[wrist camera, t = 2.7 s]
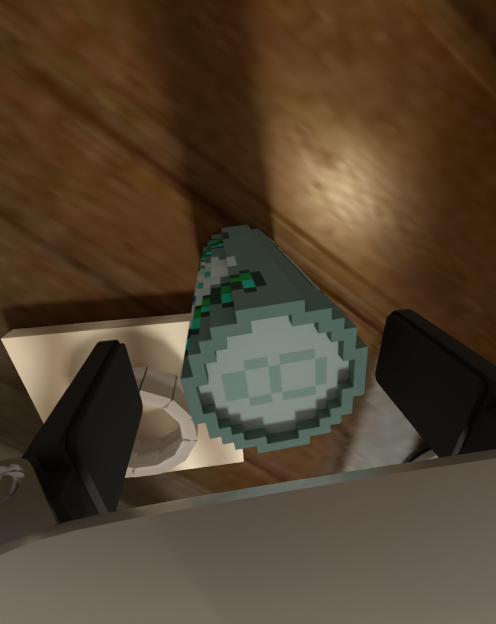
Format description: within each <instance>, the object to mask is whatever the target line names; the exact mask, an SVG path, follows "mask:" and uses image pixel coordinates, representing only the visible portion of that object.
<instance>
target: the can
mask: <svg viewBox="0 0 496 624" xmlns="http://www.w3.org/2000/svg"><path fill="white" fill-rule="evenodd" d="M221 230H222V234H215V235H212V240H211V241H207V246H206V247H203V253H202V258H200V262H199V268H198V274H197V280H196V287H195V293H194V299H193V305H192V311H191V317H190V323H189V329H188V335H187V342H186V348H185V354H184V360H183V366H182V372H181V378H180V379H181V383H182V386H183V390H184V393H185V396H186V400H187V403H188V407H189V410H190V414H191V417H192V420H193V424H194V425H197V424H202V423H206V427H207V430H208V434H209V438H210V439H213V438H218V437H221V439H222V443H223V445H224V444H229V443H234V446H235V450H238V449H244V448H249V447H254V446H257V451H258V453H262V452H267V451H273V450H278V449H283V448H289V447H294V446H300V445H305V444H310V437H309V436H314V435H319V434H325V433H330V425H332V424H338V423H341V415H344V414H350V413H352V403H353V396H358V395H364V387H365V375H366V363H367V350H368V347H367V346H366V344H365V343H364V342H363V341H362V340H361V339H360V338H359V337H358V336H357V327H356V326H355V325H354V324H353V323H352V322H351V321H350V320H349V319H348V318H347V317H346V316H345V315H344V313H343V312H342V311H341V310H340V309H339V308H338V307H337V306H336V305H335V304H334V303H333V302H332V301H331V300H330V299H329V298H328V297H327V296H326V295H325V294H324V293H323V292H322V291H321V290H320V289H319V288H318V287H317V286H316V285H315V284H314V283H313V282H312V281H311V280H310V279H309V278H308V276H307V275H306V274H305V273H304V272H303V271H302V270H301V269H300V268H299V267H298V266H297V265H296V264H295V263H294V262H293V261H292V260H291V259H290V258H289V257H288V256H287V255H286V254H285V253H284V252H283V251H282V250H281V249H280V248H279V247H278V246H277V245H276V244H275V243H274V242H273V241H272V240H271V238H270V237H267V236H266V235H265V234H264V233H262V232H261V231H260V230H259V229H258V228H256V229H250V227H249V226H248V225H247V224H246V225H239V226H233V227H226V228H221Z"/></svg>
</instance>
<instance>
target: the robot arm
mask: <svg viewBox="0 0 496 624" xmlns="http://www.w3.org/2000/svg"><path fill="white" fill-rule="evenodd" d="M375 377H376V380H377V382H378V384H379V385H380V386H381V387H382V389H383V390H384V391H385V392H386V394H387V395H388V396H389V397H390V398H391V400H392V401H393V402H394V403H395V405H396V406H397V407H398V408H399V410H400V411H401V412H402V413H403V414H404V416H405V417H406V418H407V419H408V421H409V422H410V423H411V424H412V426H413V427H414V428H415V429H416V430H417V432H418V433H419V434H420V435H421V437H422V438H423V439H424V440H425V442H426V443H427V444H428V445H429V446H430V448H431V449H432V450H429V451H427V452H426V453H424V454H422V455H420V456H419V457H417V458H416V459H414V460H413V461H412V462H409V463H402V464H396V465H389V466H383V467H377V468H370V469H364V470H358V471H352V472H345V473H339V474H333V475H326V476H320V477H314V478H308V479H301V480H295V481H289V482H283V483H277V484H271V485H264V486H258V487H252V488H246V489H240V490H234V491H228V492H222V493H216V494H210V495H204V496H198V497H192V498H186V499H180V500H174V501H168V502H163V503H158V504H152V505H147V506H141V507H136V508H130V509H125V510H119V511H116V508H117V505H118V501H119V497H120V494H121V490H122V486H123V483H124V479H125V475H126V472H127V468H128V464H129V460H130V457H131V453H132V449H133V446H134V442H135V438H136V435H137V431H138V427H139V424H140V420H141V416H142V412H143V404H142V400H141V396H140V393H139V389H138V386H137V382H136V379H135V376H134V372H133V369H132V365H131V362H130V358H129V355H128V352H127V348H126V345H125V344H124V343H120V342H119V341H118V340H107V341H99V342H98V343H97V344H96V345H95V347H94V348H93V350H92V351H91V353H90V354H89V356H88V358H87V359H86V361H85V362H84V364H83V365H82V367H81V368H80V370H79V371H78V373H77V374H76V376H75V377H74V379H73V381H72V382H71V384H70V385H69V387H68V388H67V389H66V391H65V392H64V394H63V395H62V397H61V398H60V400H59V401H58V403H57V404H56V406H55V408H54V409H53V411H52V412H51V414H50V415H49V417H48V418H47V420H46V421H45V423H44V424H43V426H42V427H41V429H40V431H39V432H38V434H37V435H36V437H35V438H34V440H33V441H32V443H31V444H30V446H29V447H28V449H27V450H26V452H25V453H24V455H23V457H22V458H11V459H7V460H3V461H0V624H496V366H495V365H494V364H492V363H491V362H489V361H488V360H486V359H485V358H483V357H482V356H480V355H479V354H477V353H476V352H474V351H473V350H471V349H470V348H468V347H467V346H465V345H464V344H462V343H461V342H459V341H458V340H456V339H455V338H453V337H452V336H450V335H449V334H447V333H446V332H444V331H443V330H441V329H440V328H438V327H437V326H435V325H434V324H432V323H431V322H429V321H428V320H426V319H425V318H423V317H422V316H420V315H419V314H417V313H416V312H414V311H413V310H410V309H407V310H397V311H393V312H392V313H391V315H389V316H388V317H387V319H386V324H385V328H384V333H383V338H382V343H381V348H380V353H379V358H378V363H377V367H376V372H375Z"/></svg>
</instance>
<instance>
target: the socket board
mask: <svg viewBox="0 0 496 624" xmlns="http://www.w3.org/2000/svg"><path fill="white" fill-rule="evenodd" d="M190 317H191V313H188V314H177V315H166V316H155V317H144V318H133V319H122V320H111V321H100V322H89V323H78V324H67V325H56V326H45V327H34V328H23V329H13V330H12V331H10V332H9V333H8V334H6V335H5V336H4V337H2V338H1V340H2V342H3V344H4V346H5V348H6V350H7V352H8V354H9V356H10V358H11V360H12V362H13V364H14V366H15V368H16V370H17V372H18V374H19V376H20V377H21V379H22V381H23V383H24V385H25V387H26V389H27V391H28V393H29V395H30V397H31V399H32V401H33V403H34V405H35V407H36V409H37V411H38V413H39V415H40V417H41V419H42V421H43V423H45V421H46V420H47V418H48V417H49V415H50V414H51V412H52V411H53V409H54V408H55V406H56V404H57V403H58V401H59V400H60V398H61V397H62V395H63V394H64V392H65V391H66V389H67V388H68V387H69V385H70V384H71V382H72V381H73V379H74V377H75V376H76V374H77V373H78V371H79V370H80V368H81V367H82V365H83V364H84V362H85V361H86V359H87V358H88V356H89V354H90V353H91V351H92V350H93V348H94V347H95V345H96V344H97V343H98V342H99V341H107V340H118V341H119V342H120V343H124V344H125V345H126V348H127V352H128V355H129V358H130V362H131V365H132V369H133V372H134V376H135V379H136V382H137V386H138V389H139V393H140V396H141V400H142V404H143V412H142V416H141V420H140V424H139V427H138V431H137V435H136V438H135V442H134V446H133V449H132V453H131V457H130V460H129V464H128V468H127V472H126V475H125V478H126V477H140V476H148V475H155V474H162V473H164V472H170V471H178V470H185V469H192V468H200V467H207V466H215V465H222V464H229V463H237V462H244V460H243V449H238V450H235V446H234V443H229V444H224V445H223V443H222V439H221V437H218V438H213V439H210V438H209V434H208V430H207V427H206V423H202V424H197V425H194V424H193V420H192V417H191V414H190V410H189V407H188V403H187V400H186V396H185V393H184V390H183V386H182V383H181V379H180V378H181V372H182V366H183V360H184V354H185V348H186V342H187V335H188V329H189V323H190Z"/></svg>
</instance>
